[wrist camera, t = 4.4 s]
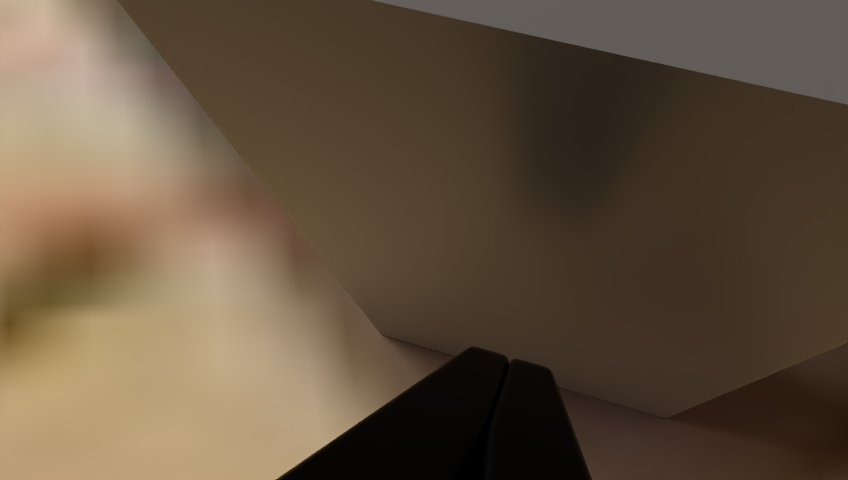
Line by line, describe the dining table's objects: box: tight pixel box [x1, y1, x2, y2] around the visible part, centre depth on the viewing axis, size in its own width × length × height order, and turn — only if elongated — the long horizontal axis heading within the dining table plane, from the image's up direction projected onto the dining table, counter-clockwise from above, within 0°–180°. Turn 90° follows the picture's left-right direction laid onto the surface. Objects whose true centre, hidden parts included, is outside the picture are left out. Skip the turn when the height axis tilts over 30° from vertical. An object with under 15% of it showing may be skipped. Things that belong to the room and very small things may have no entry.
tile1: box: [118, 0, 848, 419], centre depth 10 cm, size 2×6×12 cm, turn 73°
